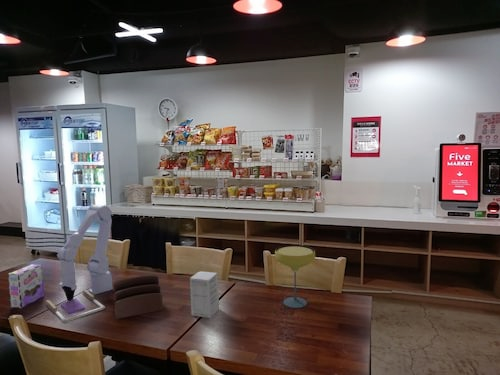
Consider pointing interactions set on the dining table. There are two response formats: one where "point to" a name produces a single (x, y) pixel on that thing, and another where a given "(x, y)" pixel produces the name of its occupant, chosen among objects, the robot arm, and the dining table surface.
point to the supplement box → (204, 294)
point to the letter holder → (137, 296)
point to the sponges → (72, 306)
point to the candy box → (25, 285)
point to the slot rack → (56, 307)
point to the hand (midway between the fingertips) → (70, 300)
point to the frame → (82, 313)
